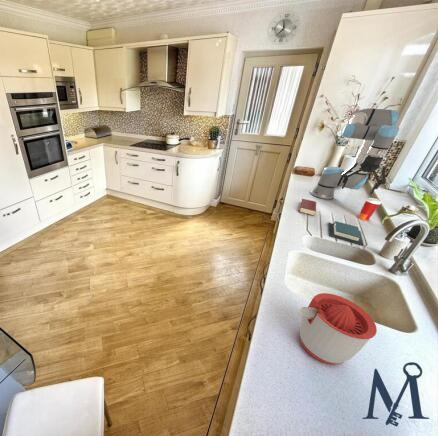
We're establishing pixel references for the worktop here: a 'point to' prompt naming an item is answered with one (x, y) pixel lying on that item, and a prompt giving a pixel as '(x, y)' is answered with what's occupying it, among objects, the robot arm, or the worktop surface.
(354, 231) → the teal hardback
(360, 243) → the rubber mat
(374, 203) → the paper cup
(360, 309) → the citrus juicer
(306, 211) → the burgundy notebook
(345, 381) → the worktop surface
